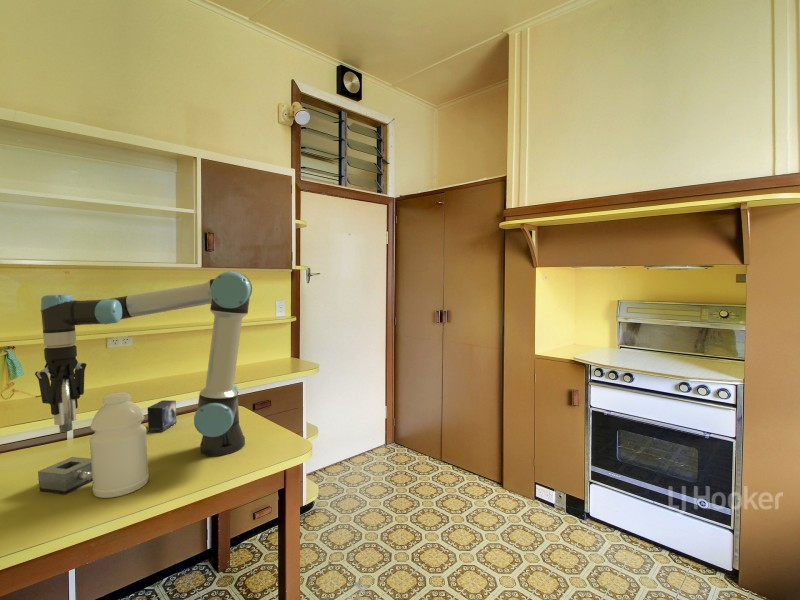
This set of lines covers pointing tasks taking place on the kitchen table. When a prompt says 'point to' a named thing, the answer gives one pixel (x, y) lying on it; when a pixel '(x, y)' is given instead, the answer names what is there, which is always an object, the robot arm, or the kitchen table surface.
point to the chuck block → (65, 475)
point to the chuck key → (66, 403)
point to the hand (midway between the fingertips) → (65, 422)
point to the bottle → (118, 447)
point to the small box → (161, 416)
